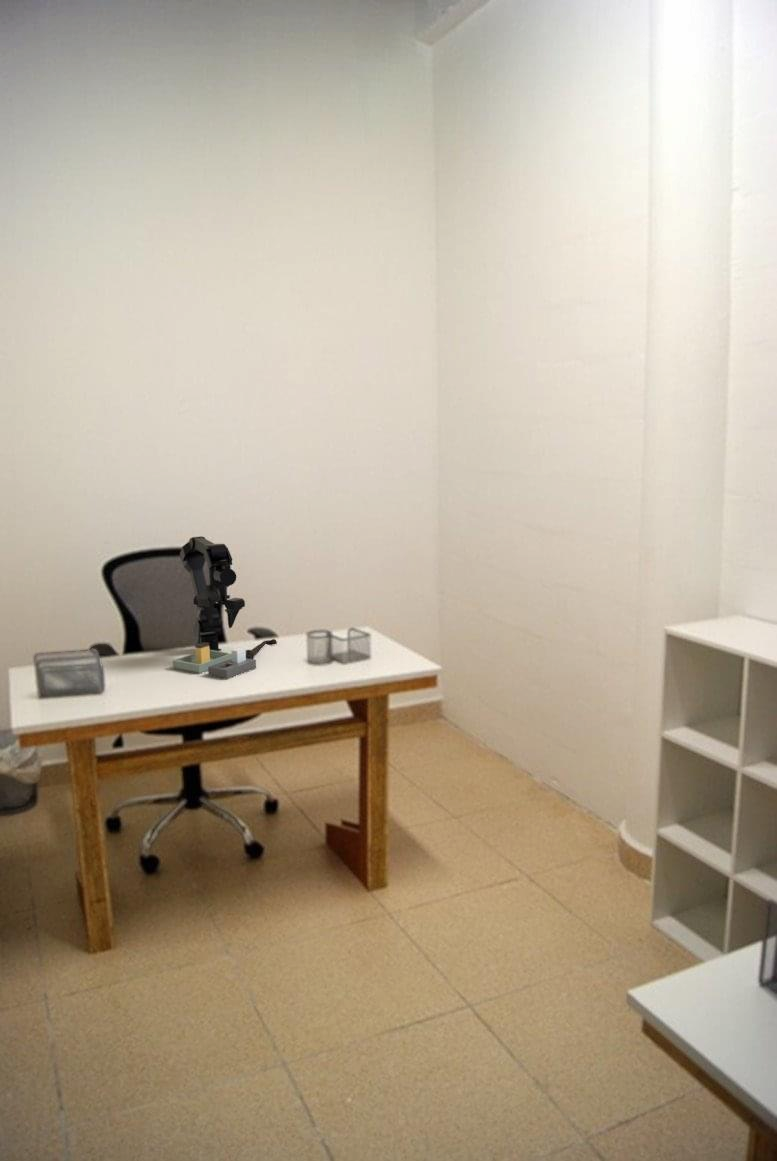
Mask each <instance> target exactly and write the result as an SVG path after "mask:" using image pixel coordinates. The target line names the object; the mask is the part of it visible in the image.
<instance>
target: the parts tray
mask: <svg viewBox="0 0 777 1161" xmlns="http://www.w3.org/2000/svg"><path fill="white" fill-rule="evenodd" d="M229 659H232V653H231V652H225V651H214V650H210V661H207V662H204V663H201V664H196V652H194V653H190V654H188V655H185V656H182V657H179V658H176V659H173V660H172V668H173V670H177V671H181V670H182V671H181V672H186V671H187V673H191V672H193V673H192V674H196V673H201V674H203V673H202V672H204V673H206V672H205V671H207V672H208V667H209V666H212V665H215V664H218V663H221V662H224V661H226V660H229Z"/></svg>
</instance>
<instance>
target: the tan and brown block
mask: <svg viewBox="0 0 777 1161" xmlns="http://www.w3.org/2000/svg"><path fill="white" fill-rule="evenodd" d="M194 648H195V653H196V664H201V663H204V662H207V661H210V649H209V643H207V642H202V643H199V642H198V643H196V644H195V643H194Z"/></svg>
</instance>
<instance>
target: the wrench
mask: <svg viewBox="0 0 777 1161" xmlns="http://www.w3.org/2000/svg"><path fill="white" fill-rule="evenodd" d="M277 643H278V641H277V640H276V639H275V638H273V639H268V640H263V641H262V642H261V643H259V644H258V645H256V646H255V647H253V648H252V649H245V652H246V658H248V659H254V657H255V656H256V655H258V653H259V652H260V651H261V650H262V649H263V648H264V647H265V646H266V645H265V644H276V645H277ZM264 645H265V646H264ZM263 646H264V647H263ZM262 647H263V648H262ZM261 648H262V649H261ZM260 649H261V650H260ZM259 650H260V651H259Z"/></svg>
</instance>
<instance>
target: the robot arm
mask: <svg viewBox="0 0 777 1161" xmlns="http://www.w3.org/2000/svg"><path fill="white" fill-rule="evenodd" d="M179 558H180V561H181V563H182V565H183V568H185V570H186V571H188V573H189V574H190V579H191V584H192V587H193V591H194V598H193V605H195V606H196V607H197V608H198V612H197V615H196V618H195V625H194V626H193V634H194V636H195V637H196V638H198V644H199V643H202V642H207V643H209V649H210V650H214V651H220V650H221V651H222V648H220V647H219V638H218V635H222V632H223V631H222V629H223V620H222V619H221V617H220V613H219V610H218V608H215V605H222V606H224V607H225V609H224V612H225V613H226V614H227V625H228V628H229V629H232V628H233V625H234V624H235V621H236V619H237V616H238V614H239V611H240V610H242V609H243V608H244V607H246V603H245V600H244V598H240V597H232V598H231V597H230V596H231V595H229V594H228V588H229V587H230V586H232V585H233V584H234V583H236V581H237V574H236V571H235V570H233V569H231V566H232V565H233V557H232V555H231V552H230V550H229V548H228V547H227V545H226V544H225V543H214V542H212V541H210V540H208V539H207V538H206V537H205V536H193V537H190V538H189V540H188V542H186V543H185V544H183V546H182V547H181V550H180V552H179ZM205 563H206V564H207V568H208V582H209V584H207V580H206V577H205V573H204V566H205ZM221 651H220V652H221Z"/></svg>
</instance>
